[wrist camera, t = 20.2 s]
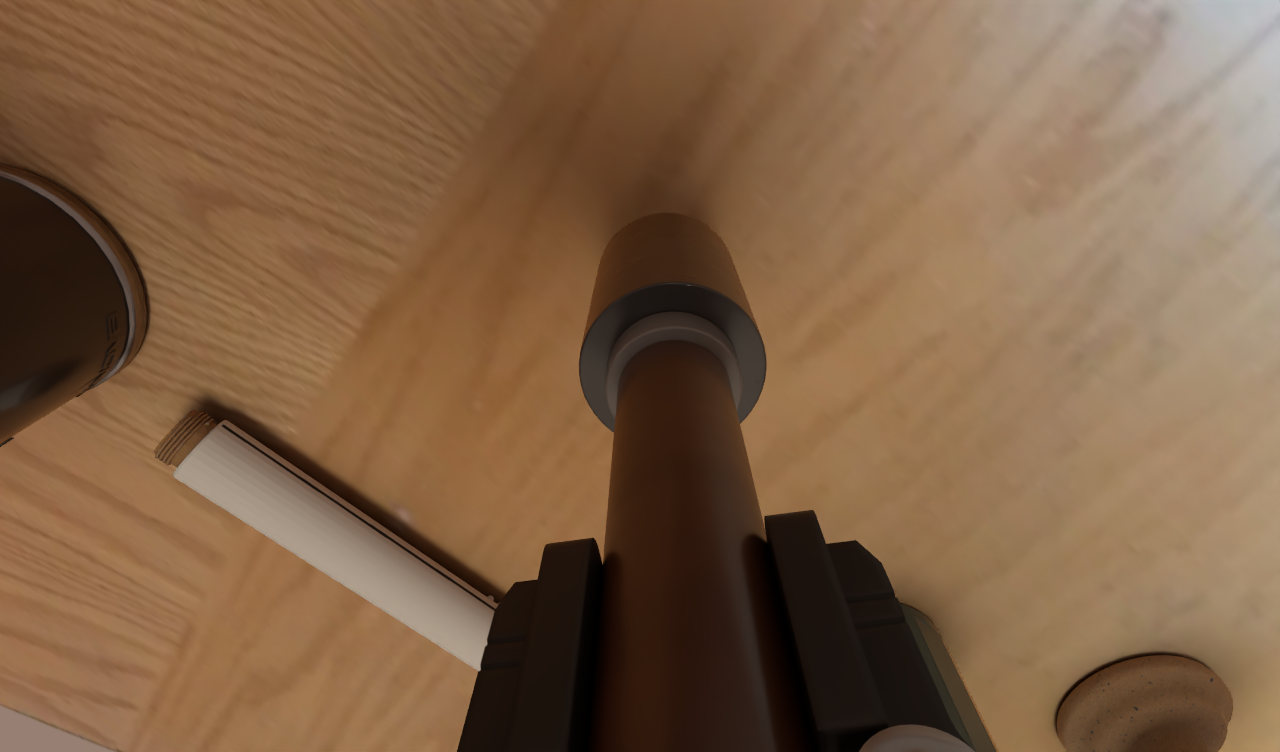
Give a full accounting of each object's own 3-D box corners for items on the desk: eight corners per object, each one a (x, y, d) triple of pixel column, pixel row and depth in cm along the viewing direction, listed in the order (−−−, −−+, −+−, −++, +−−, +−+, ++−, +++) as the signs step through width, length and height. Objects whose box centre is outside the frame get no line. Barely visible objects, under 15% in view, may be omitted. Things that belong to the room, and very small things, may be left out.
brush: (571, 296, 24) (368, 984, 6) (650, 183, 22) (658, 711, 5) (679, 367, 25) (751, 1112, 8) (762, 265, 23) (1095, 928, 6)
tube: (180, 433, 31) (590, 703, 39) (134, 472, 28) (585, 755, 36) (213, 391, 30) (627, 676, 38) (170, 426, 27) (625, 727, 35)
